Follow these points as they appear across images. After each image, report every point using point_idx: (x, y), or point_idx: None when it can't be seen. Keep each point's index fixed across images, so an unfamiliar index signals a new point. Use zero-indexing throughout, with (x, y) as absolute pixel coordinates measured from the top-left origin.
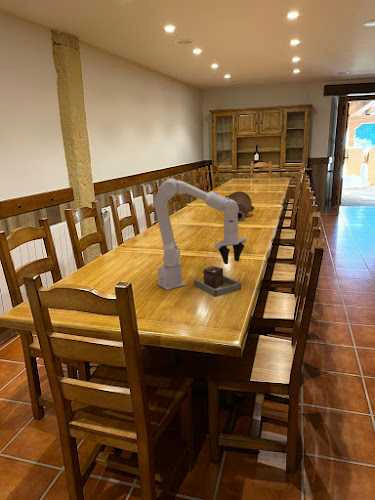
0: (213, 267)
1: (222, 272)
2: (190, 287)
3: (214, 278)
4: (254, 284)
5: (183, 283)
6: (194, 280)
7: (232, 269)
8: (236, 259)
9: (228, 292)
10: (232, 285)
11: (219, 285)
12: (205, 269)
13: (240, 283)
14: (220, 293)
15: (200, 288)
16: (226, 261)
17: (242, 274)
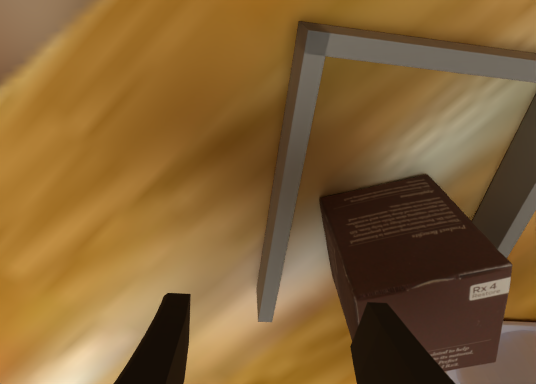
0: None
1: (357, 263)
2: None
3: (476, 227)
4: (106, 13)
5: None
6: None
7: (63, 341)
8: (187, 334)
9: (441, 41)
10: (413, 51)
11: (377, 188)
12: (481, 357)
13: (314, 31)
14: (532, 54)
15: None
16: (414, 338)
17: (55, 247)
